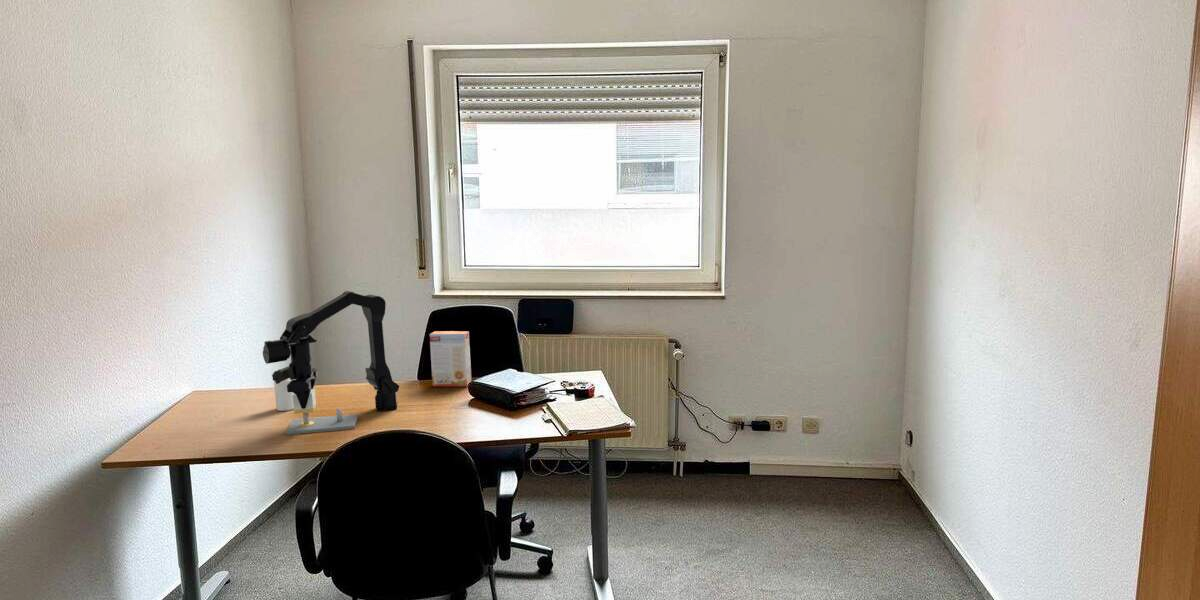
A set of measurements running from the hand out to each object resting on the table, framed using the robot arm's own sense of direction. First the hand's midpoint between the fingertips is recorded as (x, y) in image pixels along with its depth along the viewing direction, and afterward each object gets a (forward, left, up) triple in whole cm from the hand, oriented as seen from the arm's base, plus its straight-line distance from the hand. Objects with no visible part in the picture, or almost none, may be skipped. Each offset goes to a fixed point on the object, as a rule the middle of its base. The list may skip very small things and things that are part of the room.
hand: (305, 405), depth 213 cm
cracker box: (-47, -36, -7) cm, 60 cm away
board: (-5, 0, -7) cm, 9 cm away
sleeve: (0, 0, -2) cm, 2 cm away
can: (+10, -23, -7) cm, 26 cm away
